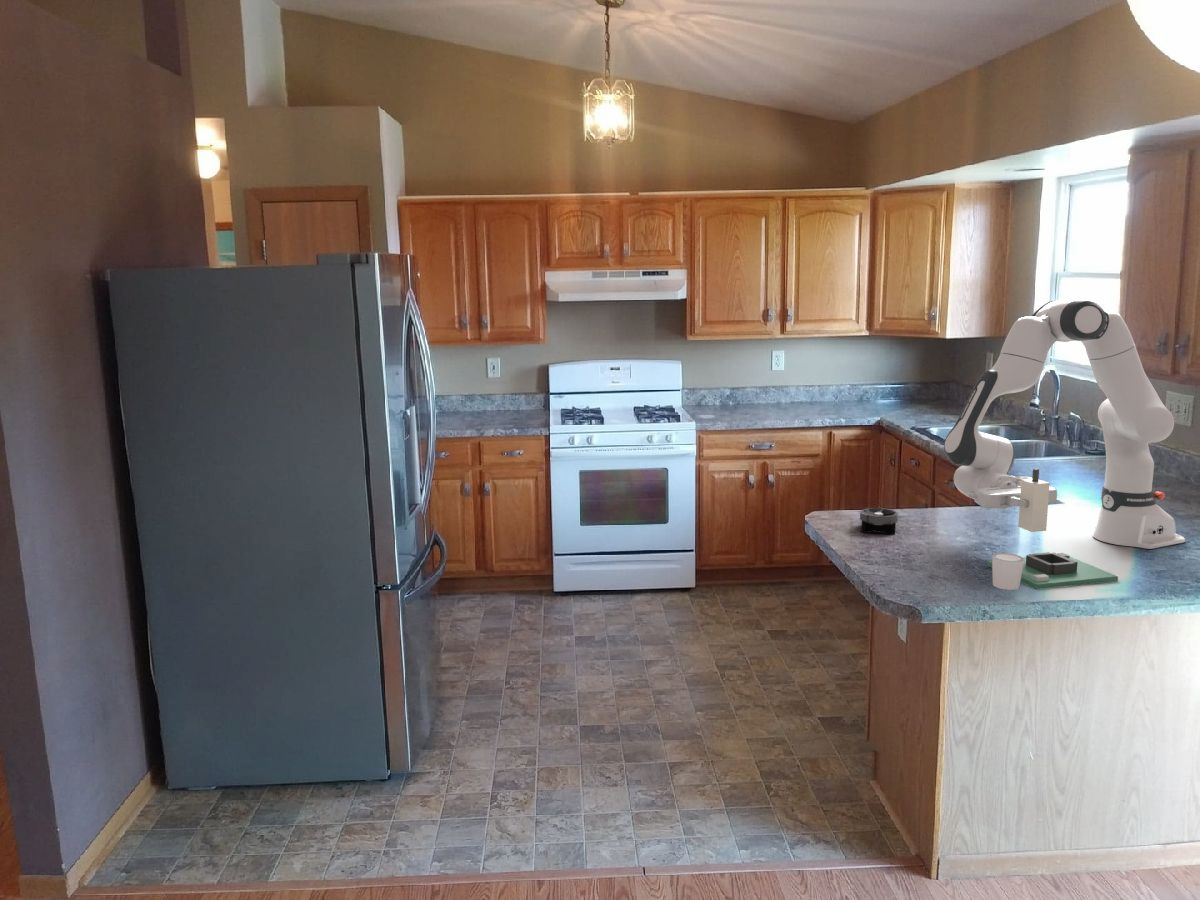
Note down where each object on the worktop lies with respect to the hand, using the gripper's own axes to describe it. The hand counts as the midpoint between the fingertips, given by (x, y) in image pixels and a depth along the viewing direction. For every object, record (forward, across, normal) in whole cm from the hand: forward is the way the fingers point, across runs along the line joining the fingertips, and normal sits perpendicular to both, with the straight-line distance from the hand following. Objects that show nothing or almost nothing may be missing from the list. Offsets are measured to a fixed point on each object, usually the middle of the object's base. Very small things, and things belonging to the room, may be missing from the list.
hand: (1036, 503), depth 215 cm
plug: (-1, 0, +7) cm, 7 cm away
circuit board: (+4, +2, +17) cm, 17 cm away
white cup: (+9, -14, +17) cm, 24 cm away
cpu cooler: (-41, -19, +17) cm, 48 cm away
